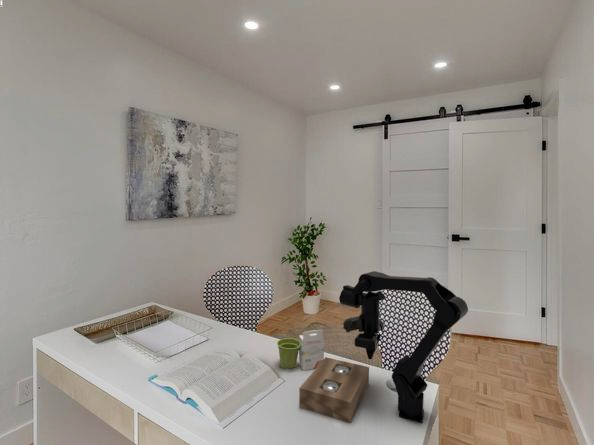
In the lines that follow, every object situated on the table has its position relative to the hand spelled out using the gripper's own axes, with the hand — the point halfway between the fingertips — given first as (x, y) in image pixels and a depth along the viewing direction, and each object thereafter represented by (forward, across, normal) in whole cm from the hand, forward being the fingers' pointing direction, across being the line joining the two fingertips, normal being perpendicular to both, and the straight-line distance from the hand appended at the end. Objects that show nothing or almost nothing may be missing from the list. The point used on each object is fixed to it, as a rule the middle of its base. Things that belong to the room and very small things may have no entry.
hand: (370, 358), depth 102 cm
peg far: (+12, -1, -10) cm, 15 cm away
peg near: (+12, +10, -10) cm, 19 cm away
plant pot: (+12, -6, -32) cm, 35 cm away
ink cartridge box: (+12, -9, -24) cm, 28 cm away
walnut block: (+12, +5, -10) cm, 16 cm away
